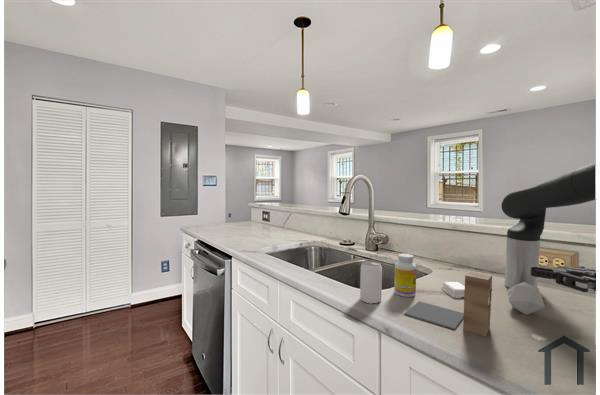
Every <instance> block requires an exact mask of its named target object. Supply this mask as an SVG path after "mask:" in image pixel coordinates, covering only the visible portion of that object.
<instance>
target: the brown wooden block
mask: <svg viewBox="0 0 600 395" xmlns="http://www.w3.org/2000/svg"><path fill="white" fill-rule="evenodd" d="M464 286H465V292H464V297H463V313H464V317H463V320H462V321H463V322H462V325H463V326H462V331H466V332H469V333H471V334H475V335H479V336H483V337H487V335H488V333H489V332H490V329H491V311H492V292H493V274H490V273H484V272H479V271H473V270H469V271H468V272H467V273H466V274H465V275H464Z"/></svg>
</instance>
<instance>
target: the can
mask: <svg viewBox="0 0 600 395" xmlns="http://www.w3.org/2000/svg"><path fill="white" fill-rule="evenodd" d="M359 279H360V284H359V288H360V289H359V292H360V293H359V298H360V300H361V301H362V302H363V301H364V302H363V303H365V302H368V303H367V304H369V303H377V304H379V303H380V302H381V301H382V290H383V289H382V288H383V286H382V283H383V267H382V265H381V262H380V261H379V260H376V259H375V260H374V259H364V260H362V261H361V265H360V276H359ZM378 302H379V303H378Z"/></svg>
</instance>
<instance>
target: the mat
mask: <svg viewBox="0 0 600 395" xmlns="http://www.w3.org/2000/svg"><path fill="white" fill-rule="evenodd" d="M403 315H404V316H407V317H411V318H415V319H417V320H421V321H425V322H427V323H430V324H434V325H437V326H440V327H444V328H447V329H450V330H454V331H455V330H456V329H457V328H458V327H459V325H460V324H461V323H462V321H463V317H464V312H460V311H457V310H453V309H451V308H450V309H449V308H446V307H442V306H438V305H434V304H431V303H427V302H423V301H420V300H419V301H417V302H416V303H415V304H413V305H412V307H410V308H409V309H407V311H405V312H404V314H403Z"/></svg>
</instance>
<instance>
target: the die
mask: <svg viewBox="0 0 600 395" xmlns="http://www.w3.org/2000/svg"><path fill="white" fill-rule="evenodd" d="M506 292H507V298H508V302H509V304H510V306H512V308H513V309H515V310H516V311H518V312H520V313H522V314H524V315H525V316H527V315H530V314H532V313H535V312H537V311H538V310H541V309H544V308H545V307H546V306H545V303H544V300H543V299H544V298H543V296H542V294H541V292H540V289H539V287H538V286H537V287H534V286H532V285H530V284H528V283H525V282H522V283H520V284H518V285H515V286H513V287H511V288H509V287H508V288H507V289H506Z"/></svg>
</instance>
